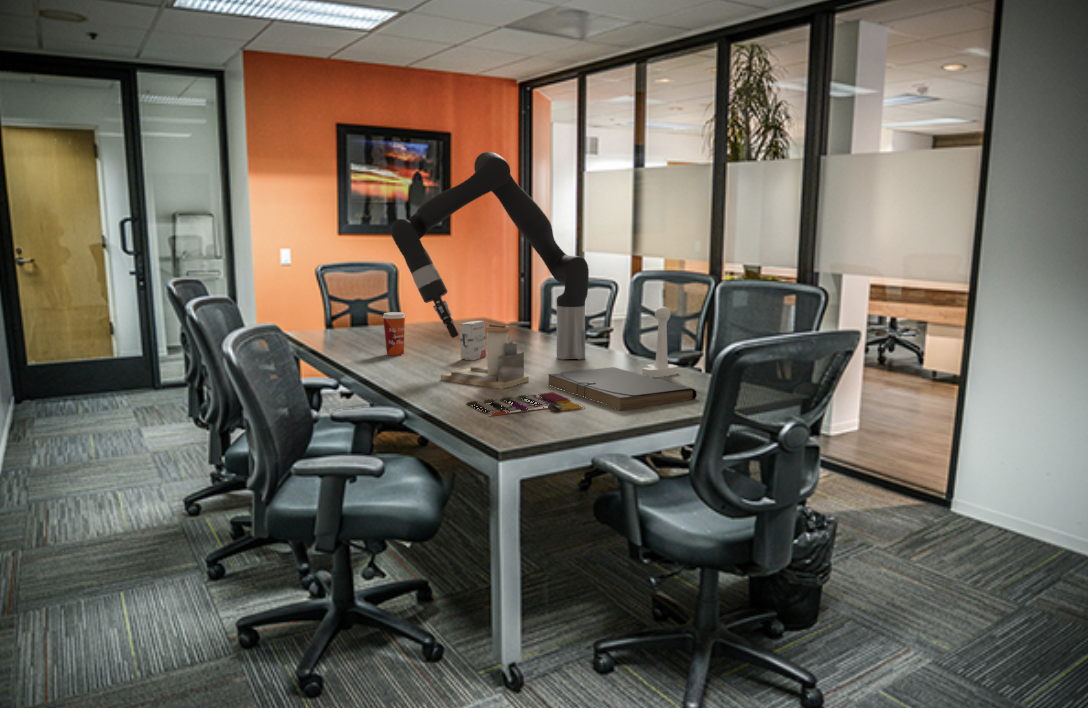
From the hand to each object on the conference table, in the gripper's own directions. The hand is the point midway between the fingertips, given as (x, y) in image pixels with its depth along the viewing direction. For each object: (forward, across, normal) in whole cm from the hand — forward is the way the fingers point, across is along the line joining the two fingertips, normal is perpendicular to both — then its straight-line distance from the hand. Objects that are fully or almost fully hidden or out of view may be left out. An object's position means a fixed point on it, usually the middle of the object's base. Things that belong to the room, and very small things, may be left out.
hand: (455, 336), depth 222 cm
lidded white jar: (+16, +12, +6) cm, 21 cm away
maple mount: (+15, +8, +2) cm, 18 cm away
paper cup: (-5, -36, -22) cm, 43 cm away
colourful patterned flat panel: (+26, +39, +9) cm, 48 cm away
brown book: (+34, +25, +33) cm, 53 cm away
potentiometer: (+12, +16, +12) cm, 23 cm away
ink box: (+7, -28, +1) cm, 28 cm away
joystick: (+36, +2, +48) cm, 60 cm away
